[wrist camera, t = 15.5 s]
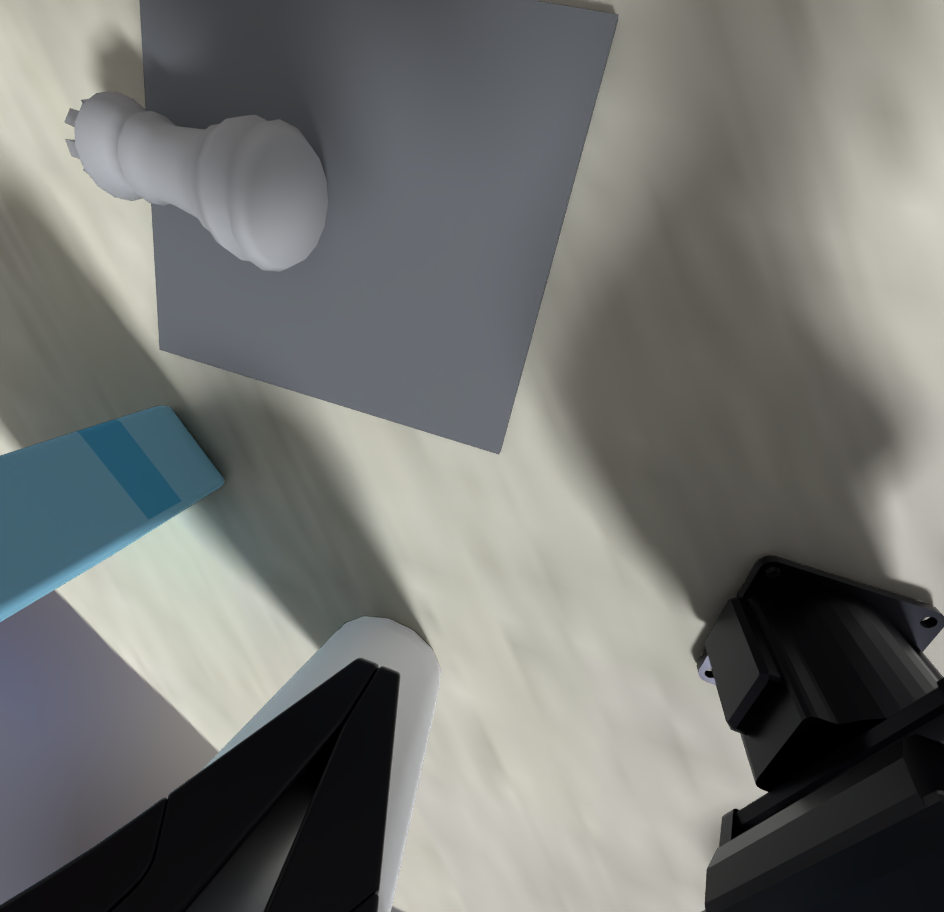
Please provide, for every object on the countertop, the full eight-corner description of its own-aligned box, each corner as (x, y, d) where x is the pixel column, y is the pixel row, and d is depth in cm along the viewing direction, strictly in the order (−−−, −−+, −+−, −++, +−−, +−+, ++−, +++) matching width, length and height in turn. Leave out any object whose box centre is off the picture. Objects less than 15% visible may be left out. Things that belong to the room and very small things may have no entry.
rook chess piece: (224, 255, 14) (19, 179, 15) (312, 289, 18) (147, 228, 19) (263, 87, 13) (41, 24, 14) (346, 166, 17) (170, 111, 18)
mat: (617, 21, 14) (618, 14, 13) (500, 451, 20) (498, 454, 19) (146, -61, 16) (135, -69, 16) (166, 348, 22) (159, 349, 21)
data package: (182, 396, 23) (-202, 517, 12) (240, 475, 23) (-68, 654, 13) (59, 493, 27) (-298, 643, 16) (111, 555, 28) (-194, 737, 17)
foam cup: (326, 714, 29) (136, 1027, 17) (290, 586, 25) (24, 862, 14) (478, 738, 26) (380, 1123, 14) (460, 599, 23) (314, 950, 11)
